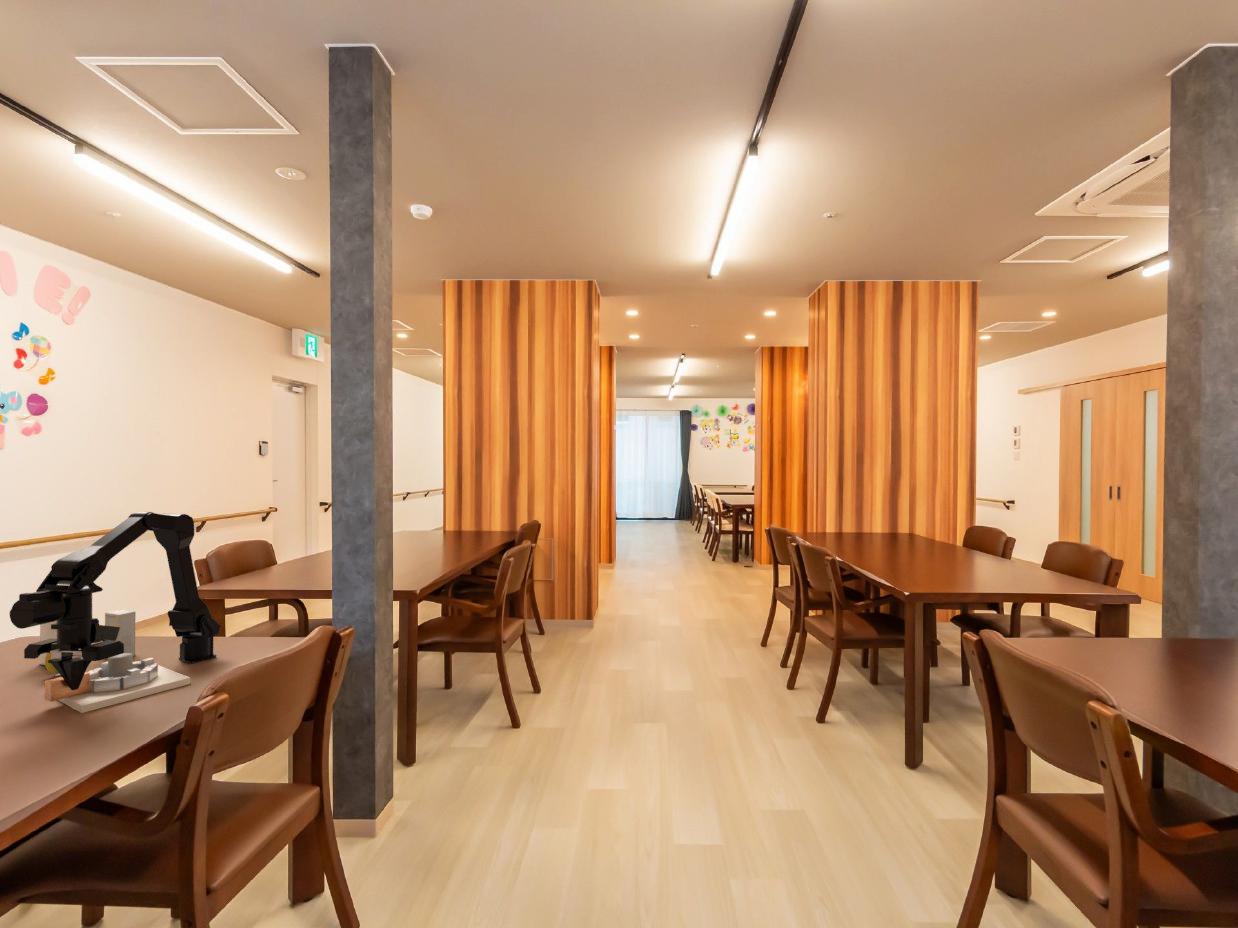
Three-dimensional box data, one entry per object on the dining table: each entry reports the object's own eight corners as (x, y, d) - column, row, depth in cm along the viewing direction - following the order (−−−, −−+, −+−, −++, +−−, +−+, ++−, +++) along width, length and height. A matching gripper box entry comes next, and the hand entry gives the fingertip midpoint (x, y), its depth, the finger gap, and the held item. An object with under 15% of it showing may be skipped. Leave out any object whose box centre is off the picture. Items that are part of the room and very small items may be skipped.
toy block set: (137, 668, 149) (137, 652, 149) (167, 676, 143) (167, 659, 143) (33, 695, 131) (33, 676, 131) (63, 706, 125) (63, 686, 125)
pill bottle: (85, 659, 160) (86, 602, 161) (45, 668, 154) (45, 608, 154) (74, 654, 165) (75, 599, 165) (34, 662, 158) (35, 604, 158)
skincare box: (103, 657, 163) (104, 612, 163) (121, 652, 167) (121, 608, 167) (118, 659, 160) (118, 614, 161) (136, 655, 165) (136, 610, 165)
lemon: (56, 680, 145) (57, 646, 145) (38, 678, 146) (38, 645, 146) (81, 672, 151) (81, 640, 151) (63, 670, 152) (64, 638, 152)
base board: (151, 668, 154) (152, 638, 154) (189, 683, 143) (190, 651, 143) (47, 693, 137) (47, 660, 137) (81, 712, 126) (81, 676, 126)
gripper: (147, 608, 137) (147, 678, 137) (76, 607, 140) (76, 675, 139) (97, 621, 126) (98, 696, 126) (21, 619, 129) (22, 693, 128)
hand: (74, 689), depth 130 cm, fingers closed
